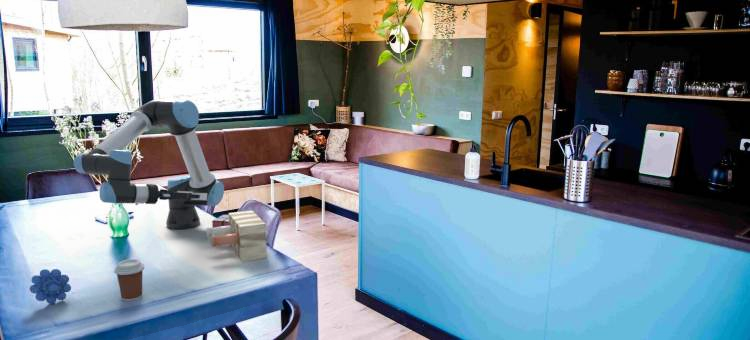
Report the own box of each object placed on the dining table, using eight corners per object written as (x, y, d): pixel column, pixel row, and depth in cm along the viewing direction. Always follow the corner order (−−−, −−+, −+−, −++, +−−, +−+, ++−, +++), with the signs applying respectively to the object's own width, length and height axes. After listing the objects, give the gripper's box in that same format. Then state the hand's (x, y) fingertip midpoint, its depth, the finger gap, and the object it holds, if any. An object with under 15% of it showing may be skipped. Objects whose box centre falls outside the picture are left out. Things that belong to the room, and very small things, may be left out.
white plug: (206, 237, 227) (205, 226, 226) (240, 232, 233) (239, 222, 232) (208, 240, 223) (207, 229, 222) (242, 235, 229) (242, 224, 228)
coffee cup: (111, 301, 179) (107, 266, 177) (127, 290, 188) (124, 257, 186) (136, 303, 178) (133, 268, 176) (152, 292, 187) (149, 258, 185)
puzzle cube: (234, 244, 236) (233, 222, 234) (213, 243, 238) (211, 220, 236) (244, 237, 245) (243, 215, 243) (223, 236, 247) (222, 214, 245)
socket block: (230, 244, 235) (228, 213, 232) (253, 241, 239) (252, 210, 236) (241, 261, 215) (239, 226, 213) (266, 257, 220) (265, 223, 217)
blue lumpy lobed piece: (36, 313, 171) (31, 276, 169) (30, 306, 176) (25, 271, 174) (76, 301, 180) (72, 266, 177) (69, 295, 184) (65, 261, 182)
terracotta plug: (211, 245, 216) (211, 234, 216) (246, 240, 222) (246, 229, 221) (213, 249, 212) (213, 237, 211) (249, 244, 218) (249, 232, 217)
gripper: (134, 201, 218) (186, 203, 232) (156, 206, 199) (212, 207, 213) (135, 182, 218) (187, 185, 232) (157, 185, 199) (213, 187, 213)
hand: (199, 195), depth 222 cm, fingers open, 13 cm apart
